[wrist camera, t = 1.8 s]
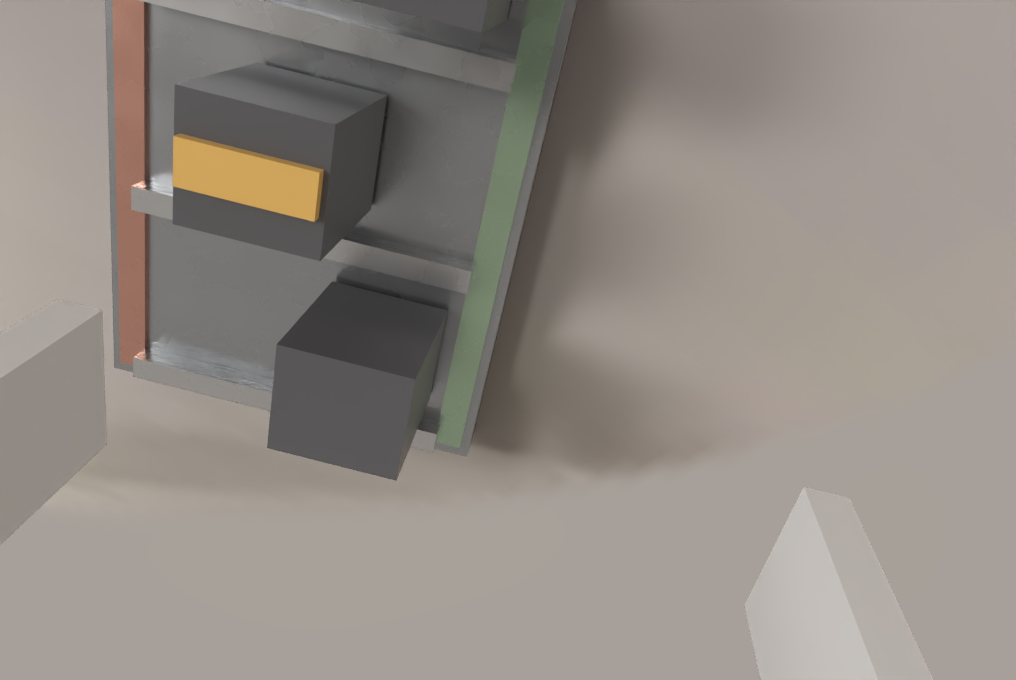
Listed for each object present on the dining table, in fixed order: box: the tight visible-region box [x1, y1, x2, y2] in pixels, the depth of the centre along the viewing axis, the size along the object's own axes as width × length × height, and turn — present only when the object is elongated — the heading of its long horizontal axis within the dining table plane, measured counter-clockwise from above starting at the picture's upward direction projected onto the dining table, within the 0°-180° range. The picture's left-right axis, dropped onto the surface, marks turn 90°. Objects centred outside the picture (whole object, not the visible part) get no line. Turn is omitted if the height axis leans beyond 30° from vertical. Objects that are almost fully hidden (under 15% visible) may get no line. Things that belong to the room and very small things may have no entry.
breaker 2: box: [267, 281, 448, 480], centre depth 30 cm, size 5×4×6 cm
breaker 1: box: [172, 63, 387, 261], centre depth 26 cm, size 5×4×6 cm
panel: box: [105, 0, 578, 457], centre depth 30 cm, size 17×26×3 cm, turn 167°
